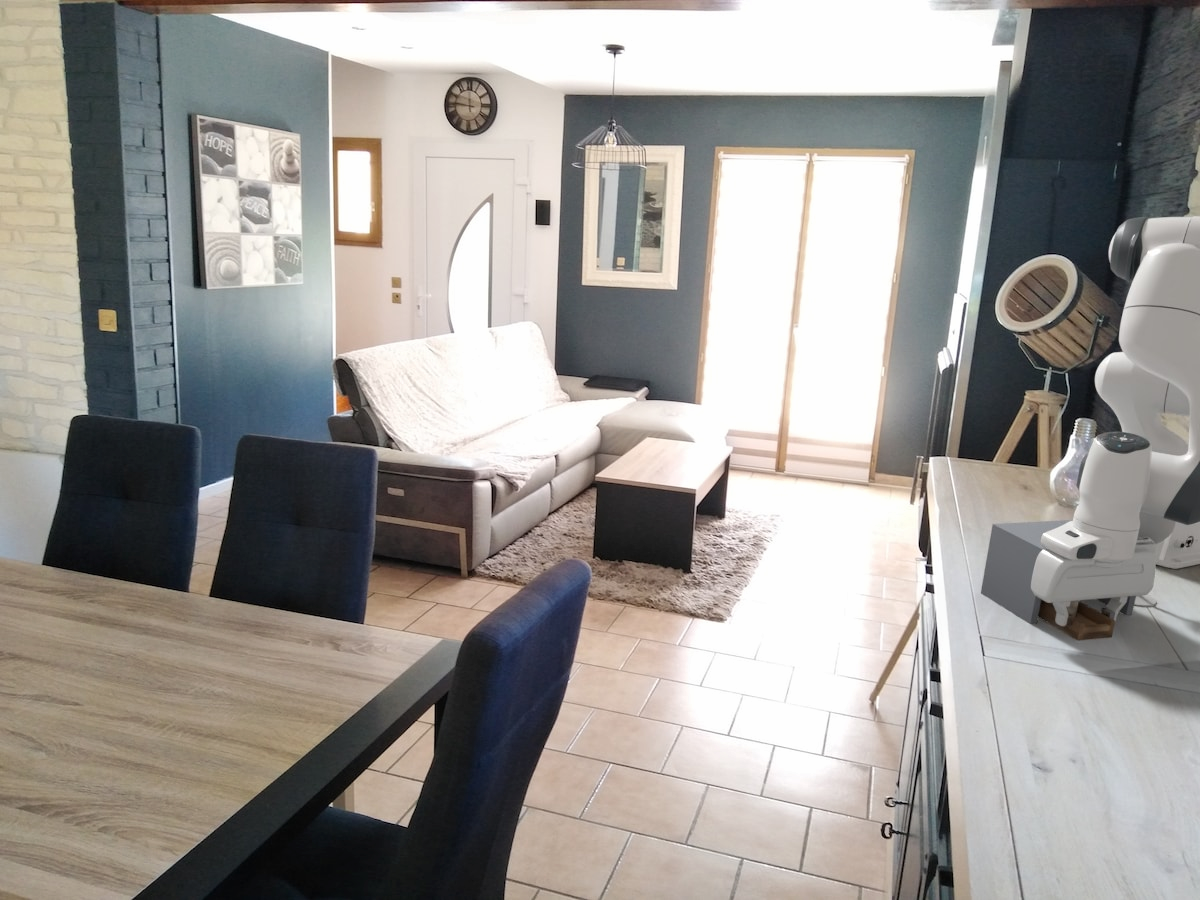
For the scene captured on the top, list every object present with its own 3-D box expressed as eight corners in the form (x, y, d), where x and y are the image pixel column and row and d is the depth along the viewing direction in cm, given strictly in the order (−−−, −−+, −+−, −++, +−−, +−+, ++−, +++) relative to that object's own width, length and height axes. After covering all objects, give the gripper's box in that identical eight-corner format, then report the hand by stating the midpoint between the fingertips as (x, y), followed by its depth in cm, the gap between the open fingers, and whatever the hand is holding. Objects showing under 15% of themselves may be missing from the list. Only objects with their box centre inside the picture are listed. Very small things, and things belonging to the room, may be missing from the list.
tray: (1046, 599, 152) (1051, 571, 151) (1111, 637, 140) (1118, 606, 138) (1014, 602, 151) (1019, 573, 149) (1077, 640, 138) (1083, 609, 136)
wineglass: (1164, 609, 151) (1192, 490, 145) (1115, 603, 152) (1140, 485, 147) (1147, 591, 158) (1173, 477, 153) (1100, 586, 159) (1124, 472, 154)
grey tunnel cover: (1076, 585, 159) (1090, 519, 156) (1131, 615, 148) (1147, 543, 145) (980, 592, 154) (992, 524, 151) (1030, 623, 143) (1044, 550, 139)
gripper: (1140, 528, 142) (1122, 609, 146) (1032, 535, 137) (1017, 618, 141) (1174, 543, 137) (1155, 626, 140) (1063, 550, 131) (1046, 636, 135)
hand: (1085, 622), depth 140 cm, fingers open, 7 cm apart
